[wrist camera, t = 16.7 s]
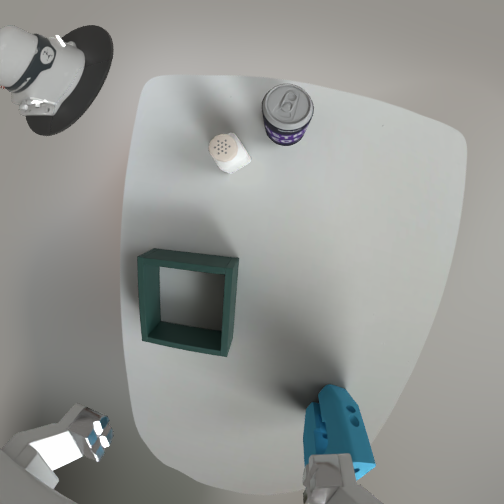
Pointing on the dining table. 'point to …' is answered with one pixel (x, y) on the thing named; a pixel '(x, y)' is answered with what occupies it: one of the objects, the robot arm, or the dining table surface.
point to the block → (337, 429)
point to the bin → (176, 333)
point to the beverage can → (286, 113)
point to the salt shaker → (228, 152)
